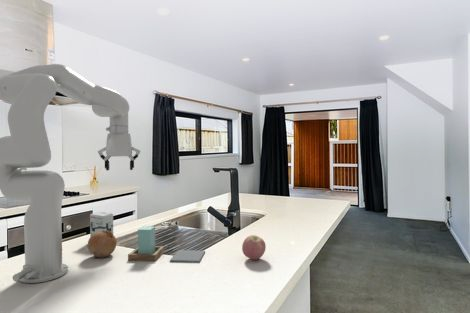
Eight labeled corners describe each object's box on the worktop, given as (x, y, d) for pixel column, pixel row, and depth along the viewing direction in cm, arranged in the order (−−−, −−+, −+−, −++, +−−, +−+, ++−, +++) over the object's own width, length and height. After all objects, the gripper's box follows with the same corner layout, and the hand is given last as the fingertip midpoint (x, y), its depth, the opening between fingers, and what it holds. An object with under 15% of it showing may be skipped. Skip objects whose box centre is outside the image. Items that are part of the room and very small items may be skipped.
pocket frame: (155, 261, 102) (155, 255, 102) (128, 260, 103) (128, 254, 103) (164, 251, 111) (164, 246, 111) (139, 251, 112) (139, 245, 112)
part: (150, 258, 105) (150, 229, 105) (138, 258, 105) (137, 229, 105) (155, 253, 109) (154, 226, 109) (143, 253, 110) (142, 226, 109)
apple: (246, 264, 98) (245, 240, 98) (239, 256, 105) (239, 234, 105) (268, 262, 100) (268, 238, 100) (260, 254, 107) (260, 232, 107)
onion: (113, 262, 110) (126, 236, 111) (96, 264, 101) (110, 236, 102) (95, 250, 113) (107, 225, 114) (76, 251, 104) (90, 224, 105)
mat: (199, 262, 100) (199, 260, 100) (170, 261, 101) (170, 259, 101) (205, 252, 110) (205, 250, 110) (178, 251, 111) (178, 250, 111)
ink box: (89, 242, 124) (89, 213, 124) (100, 239, 129) (99, 211, 128) (104, 245, 120) (103, 215, 120) (114, 241, 124) (113, 213, 124)
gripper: (95, 129, 125) (96, 170, 125) (139, 129, 128) (139, 170, 128) (99, 130, 132) (100, 170, 132) (140, 131, 136) (141, 169, 136)
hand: (119, 170), depth 130 cm, fingers open, 9 cm apart
